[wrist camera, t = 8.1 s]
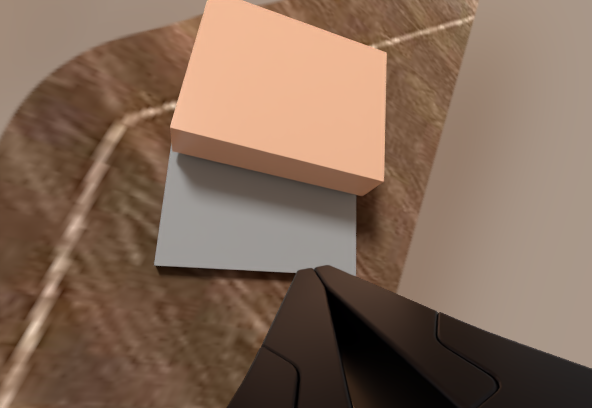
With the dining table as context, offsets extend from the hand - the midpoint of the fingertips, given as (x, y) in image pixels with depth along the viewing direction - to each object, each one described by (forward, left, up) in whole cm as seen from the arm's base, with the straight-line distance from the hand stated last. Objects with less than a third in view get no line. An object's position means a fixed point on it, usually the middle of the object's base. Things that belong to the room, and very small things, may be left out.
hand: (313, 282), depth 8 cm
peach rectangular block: (+6, -1, -8) cm, 10 cm away
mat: (+5, -1, -10) cm, 11 cm away
